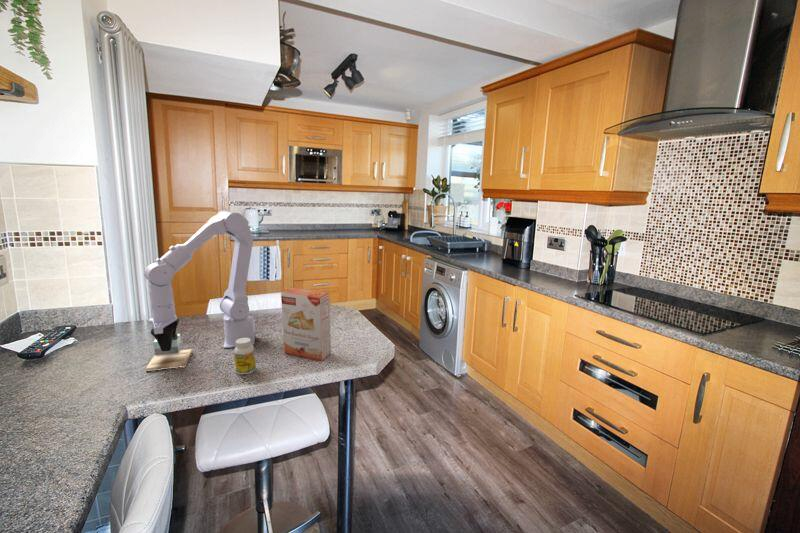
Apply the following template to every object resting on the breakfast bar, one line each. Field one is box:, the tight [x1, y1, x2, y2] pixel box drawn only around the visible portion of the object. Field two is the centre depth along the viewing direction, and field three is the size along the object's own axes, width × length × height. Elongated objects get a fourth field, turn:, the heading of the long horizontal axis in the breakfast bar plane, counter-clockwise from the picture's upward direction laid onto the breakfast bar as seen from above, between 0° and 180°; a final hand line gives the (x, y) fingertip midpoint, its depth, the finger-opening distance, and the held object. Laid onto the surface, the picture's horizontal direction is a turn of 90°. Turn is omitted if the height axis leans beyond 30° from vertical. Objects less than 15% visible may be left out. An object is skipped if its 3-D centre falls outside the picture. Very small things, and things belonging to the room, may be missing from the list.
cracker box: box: [280, 286, 332, 362], centre depth 119 cm, size 14×6×21 cm, turn 70°
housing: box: [153, 333, 183, 356], centre depth 113 cm, size 6×4×4 cm
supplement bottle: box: [233, 338, 257, 375], centre depth 109 cm, size 5×5×10 cm
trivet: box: [145, 348, 193, 372], centre depth 114 cm, size 10×10×1 cm
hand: (168, 347), depth 113 cm, fingers closed on housing, 4 cm apart
